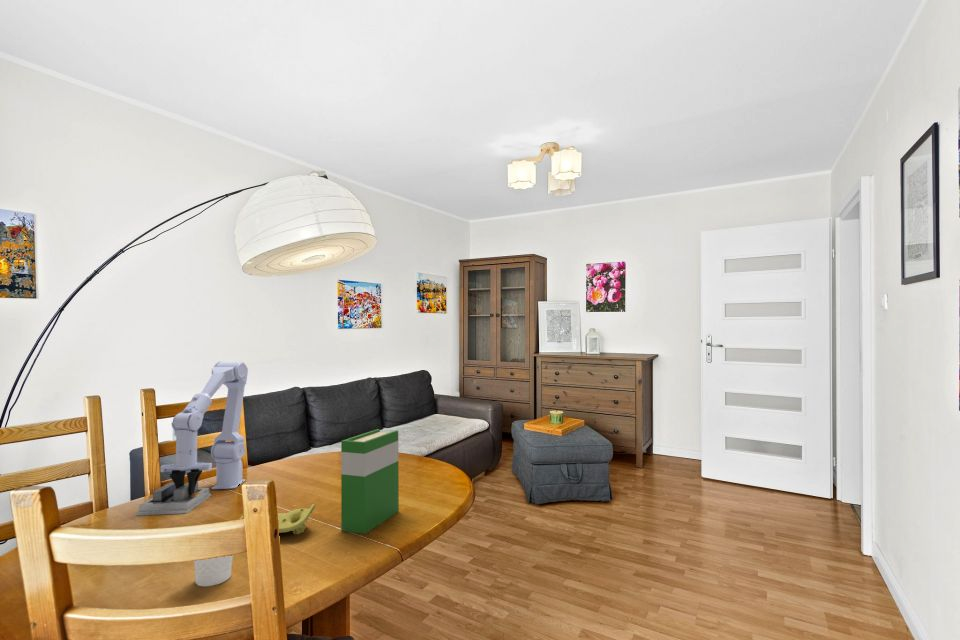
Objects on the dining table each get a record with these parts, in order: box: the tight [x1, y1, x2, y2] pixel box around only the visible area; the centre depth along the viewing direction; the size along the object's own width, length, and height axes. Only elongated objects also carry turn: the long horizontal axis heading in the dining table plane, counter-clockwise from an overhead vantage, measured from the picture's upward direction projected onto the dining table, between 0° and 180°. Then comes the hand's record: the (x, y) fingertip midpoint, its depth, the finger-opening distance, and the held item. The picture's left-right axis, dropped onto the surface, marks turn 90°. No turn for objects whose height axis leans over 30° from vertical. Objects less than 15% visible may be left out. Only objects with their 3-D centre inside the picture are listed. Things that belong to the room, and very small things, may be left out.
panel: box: [174, 481, 199, 501], centre depth 152 cm, size 10×2×5 cm, turn 6°
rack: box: [136, 481, 212, 517], centre depth 151 cm, size 16×14×6 cm
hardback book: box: [340, 428, 400, 535], centre depth 137 cm, size 18×7×24 cm, turn 159°
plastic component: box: [239, 503, 316, 535], centre depth 130 cm, size 20×7×10 cm
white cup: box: [193, 554, 234, 587], centre depth 104 cm, size 8×8×10 cm
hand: (186, 494), depth 152 cm, fingers closed on panel, 2 cm apart
